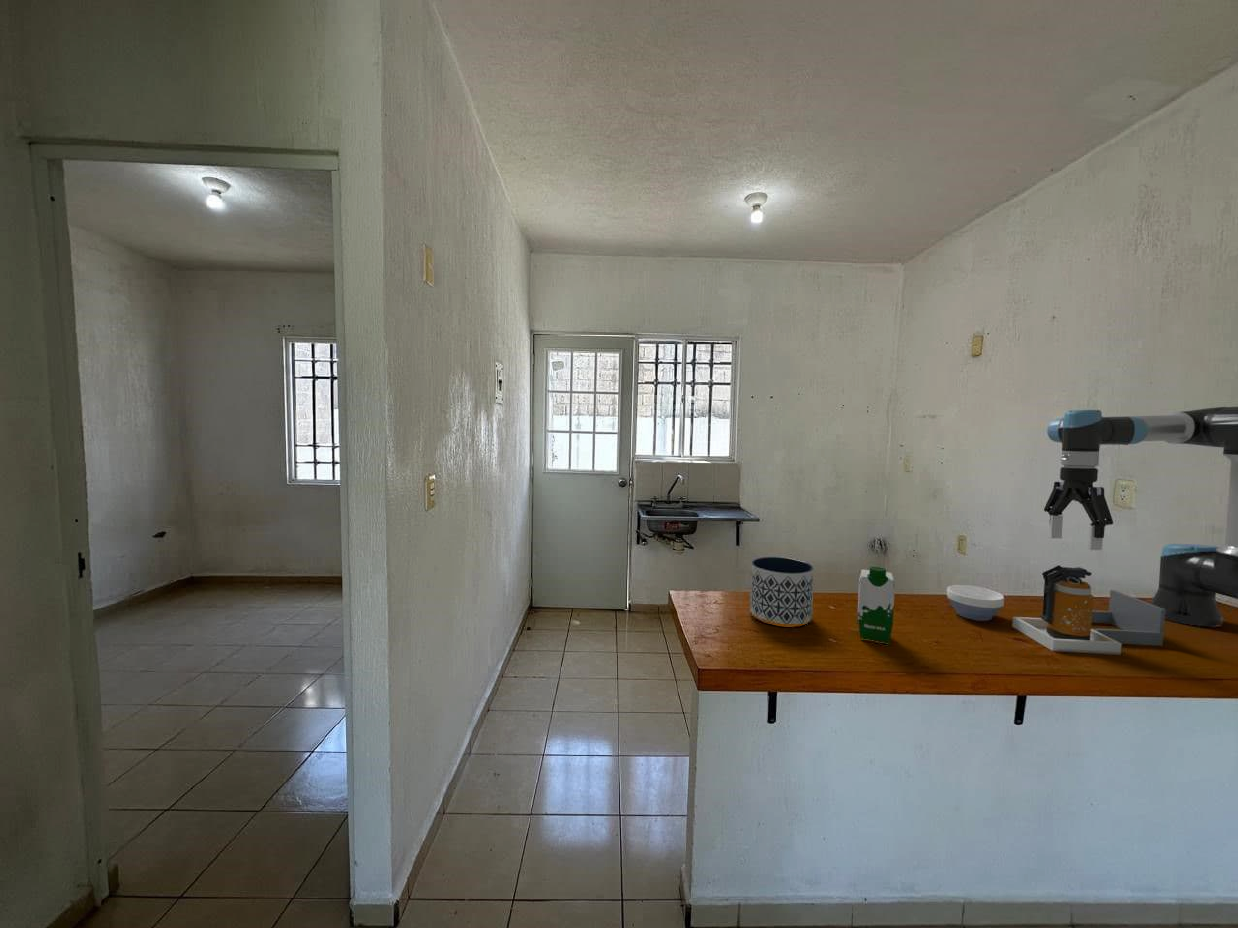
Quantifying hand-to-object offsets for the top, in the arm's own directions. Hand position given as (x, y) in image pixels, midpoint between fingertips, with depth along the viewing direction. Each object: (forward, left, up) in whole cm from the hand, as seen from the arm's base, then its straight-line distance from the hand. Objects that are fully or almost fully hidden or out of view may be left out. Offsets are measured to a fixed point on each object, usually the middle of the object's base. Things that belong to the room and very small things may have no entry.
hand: (1074, 543), depth 136 cm
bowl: (+17, -14, -27) cm, 35 cm away
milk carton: (+54, +7, -27) cm, 61 cm away
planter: (+77, -5, -27) cm, 82 cm away
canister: (+2, +2, -26) cm, 26 cm away
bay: (-14, -6, -27) cm, 30 cm away
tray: (+2, +2, -27) cm, 27 cm away
